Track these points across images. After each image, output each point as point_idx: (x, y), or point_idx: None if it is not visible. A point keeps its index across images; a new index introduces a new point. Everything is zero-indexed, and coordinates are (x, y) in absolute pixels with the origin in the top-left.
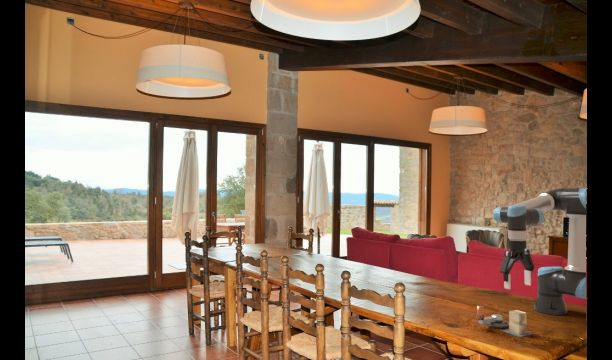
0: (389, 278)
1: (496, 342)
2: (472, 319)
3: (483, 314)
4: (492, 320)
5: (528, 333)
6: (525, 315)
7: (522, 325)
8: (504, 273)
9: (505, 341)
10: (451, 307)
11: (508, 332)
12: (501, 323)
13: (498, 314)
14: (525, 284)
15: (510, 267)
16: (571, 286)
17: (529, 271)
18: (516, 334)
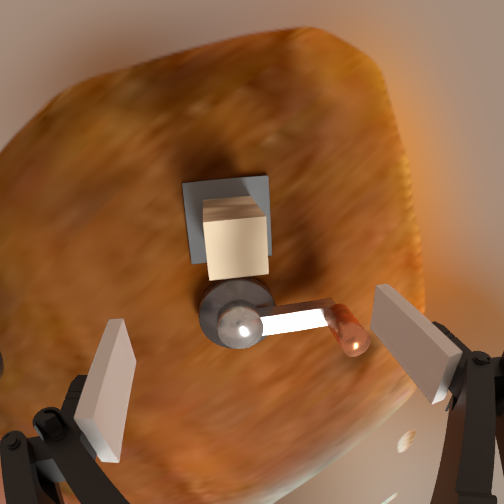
0: None
1: (377, 178)
2: (260, 380)
3: (343, 316)
4: (279, 309)
5: (201, 190)
6: (209, 218)
7: (230, 204)
8: (497, 358)
9: (345, 171)
10: (231, 459)
11: (267, 230)
12: (243, 293)
13: (222, 340)
14: (133, 355)
15: (487, 411)
16: None
17: (95, 418)
18: (257, 200)
